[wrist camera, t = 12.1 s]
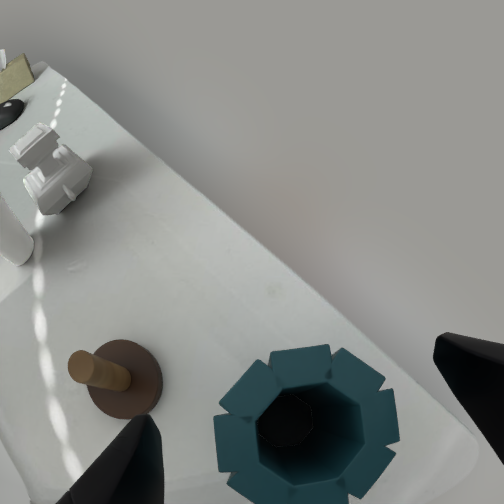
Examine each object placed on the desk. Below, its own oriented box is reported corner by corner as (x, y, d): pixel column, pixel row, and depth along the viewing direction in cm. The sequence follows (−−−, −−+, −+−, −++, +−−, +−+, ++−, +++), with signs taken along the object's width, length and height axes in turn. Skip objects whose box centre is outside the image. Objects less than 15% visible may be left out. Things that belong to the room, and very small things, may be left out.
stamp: (108, 190, 27) (74, 125, 19) (59, 235, 24) (12, 178, 17) (73, 160, 29) (44, 106, 22) (33, 197, 27) (-4, 147, 20)
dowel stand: (174, 406, 17) (141, 404, 12) (105, 426, 16) (55, 426, 11) (148, 332, 20) (111, 302, 14) (85, 355, 19) (36, 332, 13)
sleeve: (336, 455, 15) (404, 489, 6) (242, 467, 15) (224, 523, 6) (325, 370, 18) (383, 333, 9) (233, 381, 18) (208, 356, 9)
